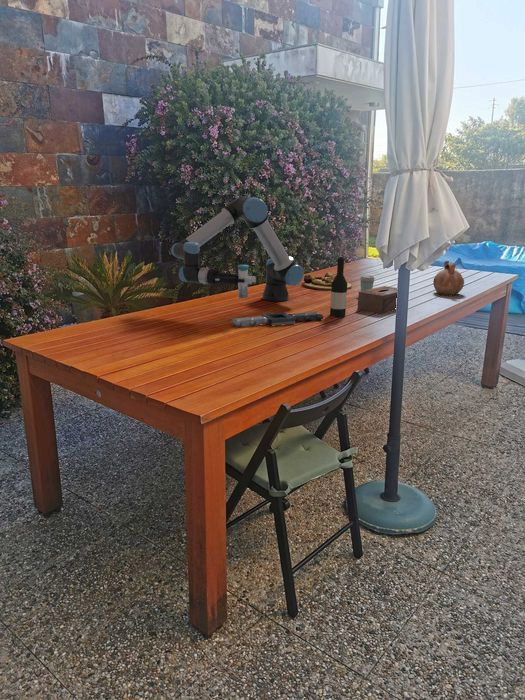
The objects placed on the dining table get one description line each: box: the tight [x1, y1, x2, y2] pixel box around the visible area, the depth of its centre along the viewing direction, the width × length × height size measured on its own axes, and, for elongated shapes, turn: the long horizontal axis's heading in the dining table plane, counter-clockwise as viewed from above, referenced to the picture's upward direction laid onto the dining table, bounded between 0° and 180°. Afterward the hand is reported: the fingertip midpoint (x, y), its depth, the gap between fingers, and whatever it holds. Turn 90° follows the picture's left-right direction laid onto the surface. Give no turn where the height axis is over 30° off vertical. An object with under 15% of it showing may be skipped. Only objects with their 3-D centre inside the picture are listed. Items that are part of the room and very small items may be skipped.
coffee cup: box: [359, 274, 375, 291], centre depth 334 cm, size 8×9×12 cm
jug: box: [432, 260, 465, 297], centre depth 346 cm, size 18×18×20 cm
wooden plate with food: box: [301, 271, 353, 291], centre depth 364 cm, size 32×32×8 cm
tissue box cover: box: [356, 285, 398, 315], centre depth 304 cm, size 26×14×10 cm, turn 136°
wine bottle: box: [329, 255, 348, 318], centre depth 283 cm, size 8×8×30 cm
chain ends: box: [230, 311, 324, 328], centre depth 270 cm, size 12×46×3 cm, turn 114°
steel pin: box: [237, 264, 250, 299], centre depth 268 cm, size 5×5×15 cm
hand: (253, 280), depth 266 cm, fingers closed on steel pin, 4 cm apart
